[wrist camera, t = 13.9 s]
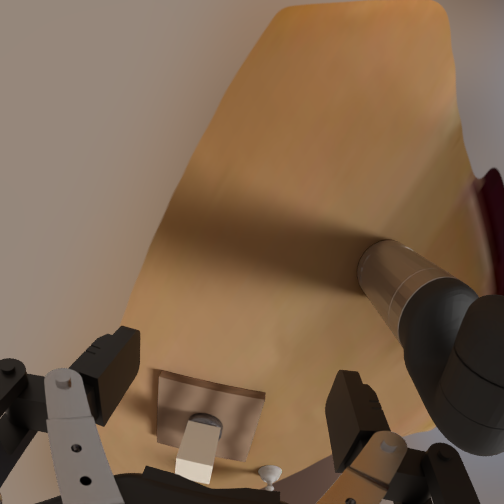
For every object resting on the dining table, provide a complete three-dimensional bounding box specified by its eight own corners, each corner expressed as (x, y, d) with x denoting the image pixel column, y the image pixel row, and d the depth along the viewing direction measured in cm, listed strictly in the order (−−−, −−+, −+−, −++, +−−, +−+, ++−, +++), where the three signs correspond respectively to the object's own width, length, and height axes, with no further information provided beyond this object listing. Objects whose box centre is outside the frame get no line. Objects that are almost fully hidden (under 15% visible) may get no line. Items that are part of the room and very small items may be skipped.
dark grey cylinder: (225, 417, 51) (217, 458, 41) (220, 439, 52) (212, 479, 43) (189, 409, 51) (176, 449, 41) (186, 432, 52) (174, 470, 43)
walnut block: (265, 392, 51) (265, 399, 49) (246, 455, 56) (245, 462, 54) (162, 370, 51) (158, 376, 50) (159, 435, 56) (156, 442, 54)
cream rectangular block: (220, 427, 49) (212, 466, 40) (216, 447, 50) (209, 484, 41) (188, 420, 49) (176, 457, 40) (186, 440, 50) (175, 476, 41)
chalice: (247, 473, 57) (240, 539, 40) (264, 458, 56) (261, 529, 38) (275, 483, 58) (273, 547, 41) (293, 469, 56) (295, 537, 39)
